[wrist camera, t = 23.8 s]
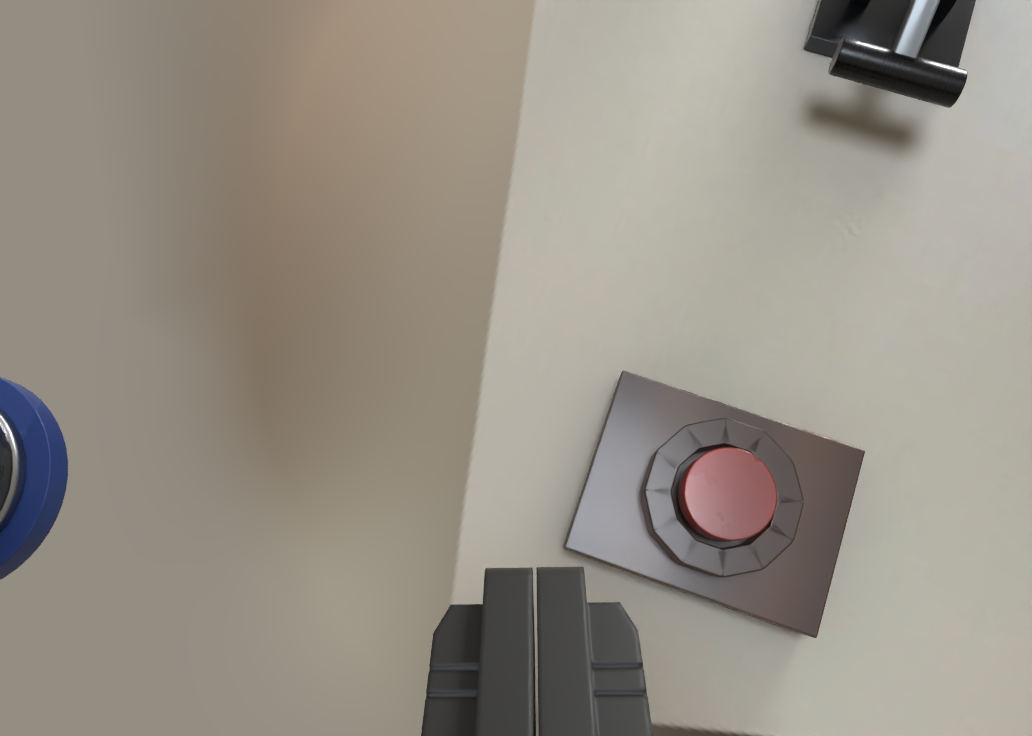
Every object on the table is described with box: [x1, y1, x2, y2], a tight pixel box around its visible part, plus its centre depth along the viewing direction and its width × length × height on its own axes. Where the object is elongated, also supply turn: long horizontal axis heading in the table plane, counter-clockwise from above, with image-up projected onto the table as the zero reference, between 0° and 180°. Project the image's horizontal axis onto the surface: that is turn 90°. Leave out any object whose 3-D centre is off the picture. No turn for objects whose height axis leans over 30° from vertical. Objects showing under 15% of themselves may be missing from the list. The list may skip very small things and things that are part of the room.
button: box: [678, 447, 777, 541], centre depth 36 cm, size 4×4×2 cm
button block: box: [563, 371, 865, 638], centre depth 38 cm, size 12×9×4 cm
